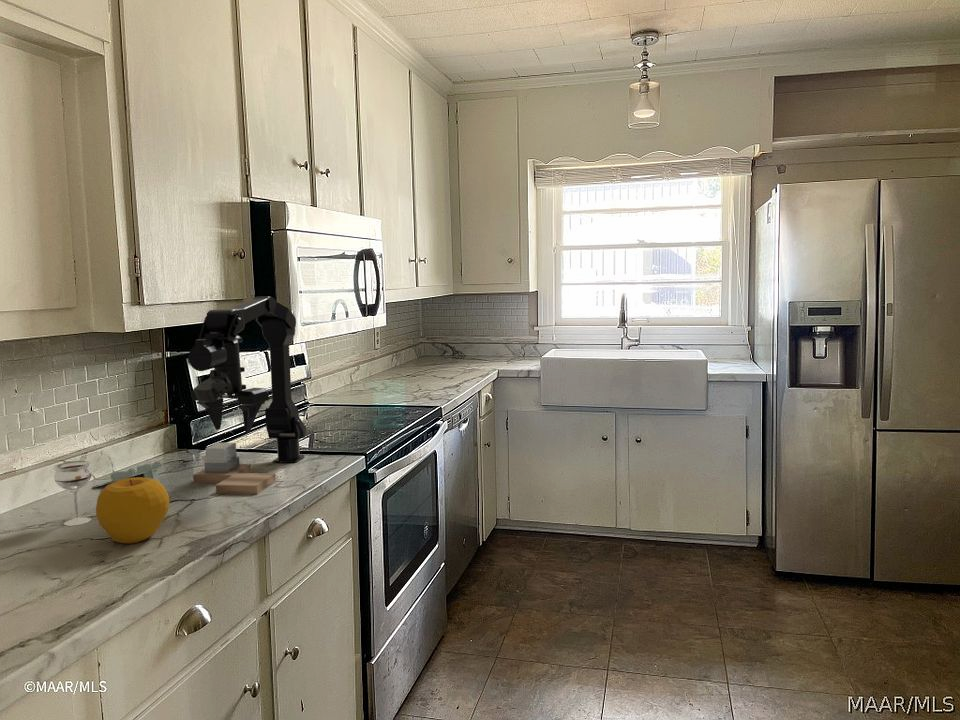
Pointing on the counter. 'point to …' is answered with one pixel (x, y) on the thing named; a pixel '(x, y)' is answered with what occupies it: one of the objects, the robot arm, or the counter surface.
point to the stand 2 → (245, 483)
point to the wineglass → (73, 483)
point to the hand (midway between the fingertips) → (232, 430)
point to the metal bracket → (146, 469)
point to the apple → (132, 509)
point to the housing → (221, 458)
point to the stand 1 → (219, 474)
